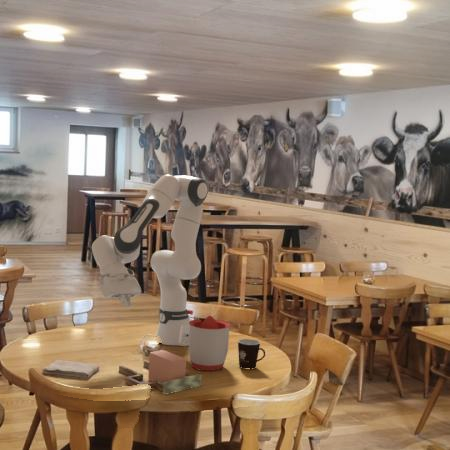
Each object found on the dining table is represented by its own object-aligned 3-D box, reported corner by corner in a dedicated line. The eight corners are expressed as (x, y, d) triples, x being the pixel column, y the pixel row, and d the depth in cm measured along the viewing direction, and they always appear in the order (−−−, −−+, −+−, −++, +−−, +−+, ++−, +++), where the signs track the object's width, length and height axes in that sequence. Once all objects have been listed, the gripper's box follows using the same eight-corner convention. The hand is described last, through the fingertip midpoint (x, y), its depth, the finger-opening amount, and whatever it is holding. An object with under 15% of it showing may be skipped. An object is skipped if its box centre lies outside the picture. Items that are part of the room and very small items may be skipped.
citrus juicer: (223, 359, 272) (225, 310, 270) (230, 373, 254) (234, 320, 253) (184, 359, 269) (186, 309, 267) (189, 373, 252) (192, 320, 250)
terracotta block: (161, 376, 246) (162, 349, 245) (184, 386, 236) (186, 358, 236) (148, 379, 242) (149, 352, 241) (171, 390, 232) (172, 361, 231)
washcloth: (54, 365, 253) (54, 357, 252) (100, 370, 250) (100, 362, 250) (40, 375, 241) (40, 366, 241) (88, 380, 238) (89, 372, 238)
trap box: (157, 363, 261) (158, 353, 261) (208, 384, 241) (209, 373, 240) (105, 373, 245) (106, 363, 245) (155, 397, 224) (156, 385, 224)
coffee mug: (232, 364, 266) (234, 339, 265) (252, 363, 269) (254, 338, 268) (245, 373, 255) (247, 347, 254) (265, 372, 258) (267, 346, 258)
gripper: (102, 269, 251) (117, 302, 247) (136, 271, 269) (150, 301, 264) (91, 278, 254) (105, 311, 249) (125, 279, 271) (138, 309, 267)
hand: (128, 306), depth 257 cm, fingers closed
